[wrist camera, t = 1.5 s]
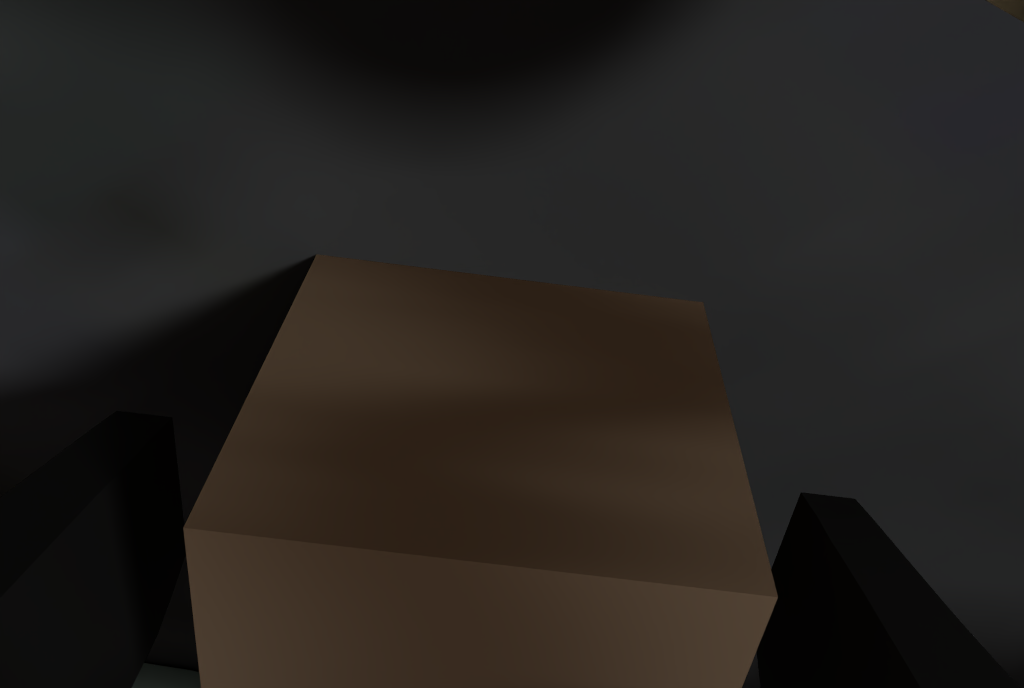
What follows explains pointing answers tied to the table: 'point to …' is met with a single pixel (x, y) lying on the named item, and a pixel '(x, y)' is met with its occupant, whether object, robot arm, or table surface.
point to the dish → (166, 677)
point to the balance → (1011, 7)
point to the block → (479, 495)
